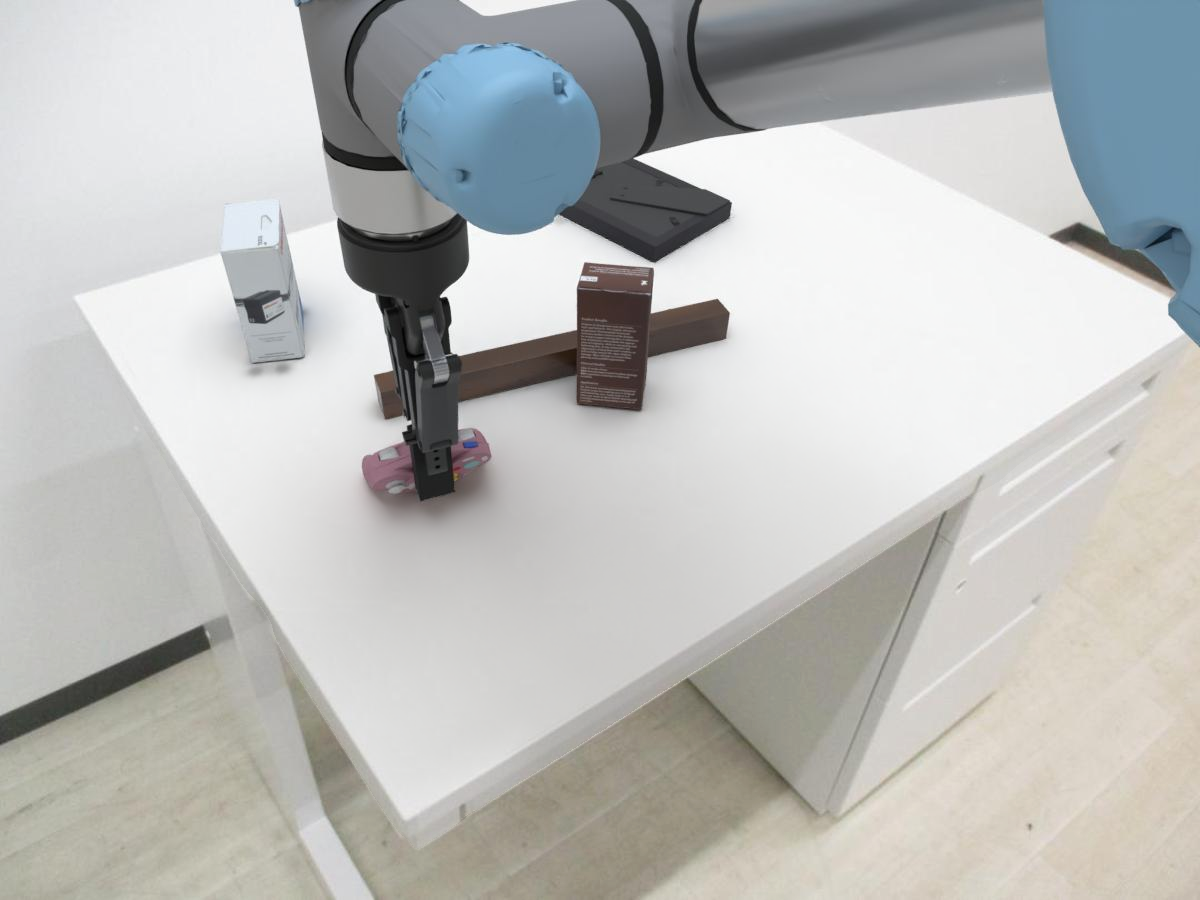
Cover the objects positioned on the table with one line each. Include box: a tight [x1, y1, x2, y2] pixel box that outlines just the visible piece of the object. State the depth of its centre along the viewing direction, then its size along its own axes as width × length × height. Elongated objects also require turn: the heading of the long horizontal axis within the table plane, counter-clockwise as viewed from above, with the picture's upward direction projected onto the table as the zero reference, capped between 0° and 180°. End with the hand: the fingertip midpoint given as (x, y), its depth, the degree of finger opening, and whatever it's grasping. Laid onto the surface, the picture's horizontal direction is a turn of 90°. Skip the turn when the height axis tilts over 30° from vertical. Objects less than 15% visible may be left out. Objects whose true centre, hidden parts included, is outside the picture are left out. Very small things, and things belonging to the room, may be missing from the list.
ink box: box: [219, 198, 306, 363], centre depth 85 cm, size 8×5×12 cm, turn 14°
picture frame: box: [558, 158, 733, 263], centre depth 107 cm, size 13×2×18 cm
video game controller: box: [361, 427, 493, 495], centre depth 74 cm, size 10×5×7 cm, turn 113°
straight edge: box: [373, 298, 731, 420], centre depth 85 cm, size 2×33×3 cm, turn 113°
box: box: [575, 261, 655, 411], centre depth 80 cm, size 6×4×12 cm
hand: (435, 490), depth 71 cm, fingers closed
